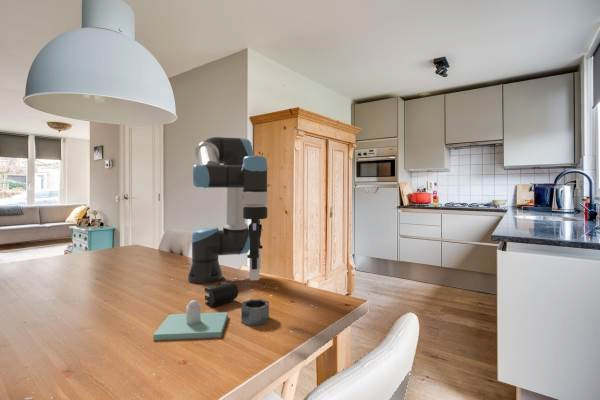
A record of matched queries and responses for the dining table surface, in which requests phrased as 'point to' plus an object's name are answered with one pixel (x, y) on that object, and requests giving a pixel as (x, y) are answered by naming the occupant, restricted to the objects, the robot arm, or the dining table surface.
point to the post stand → (192, 324)
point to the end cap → (221, 293)
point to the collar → (255, 312)
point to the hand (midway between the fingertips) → (255, 274)
